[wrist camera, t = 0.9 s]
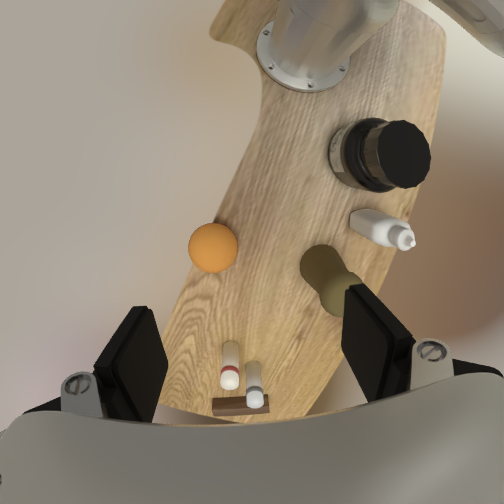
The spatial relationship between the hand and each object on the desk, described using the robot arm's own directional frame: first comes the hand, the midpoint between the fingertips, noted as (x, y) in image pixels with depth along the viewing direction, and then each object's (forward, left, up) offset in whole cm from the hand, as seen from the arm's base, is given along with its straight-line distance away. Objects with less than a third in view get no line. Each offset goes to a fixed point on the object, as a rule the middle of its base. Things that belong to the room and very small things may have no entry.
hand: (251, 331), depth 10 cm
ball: (+3, -4, -23) cm, 23 cm away
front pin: (+20, -4, -26) cm, 33 cm away
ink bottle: (-7, +16, -26) cm, 31 cm away
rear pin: (+24, -1, -26) cm, 36 cm away
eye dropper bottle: (+2, +17, -26) cm, 31 cm away
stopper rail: (+33, -4, -26) cm, 42 cm away
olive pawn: (+8, +10, -26) cm, 29 cm away
